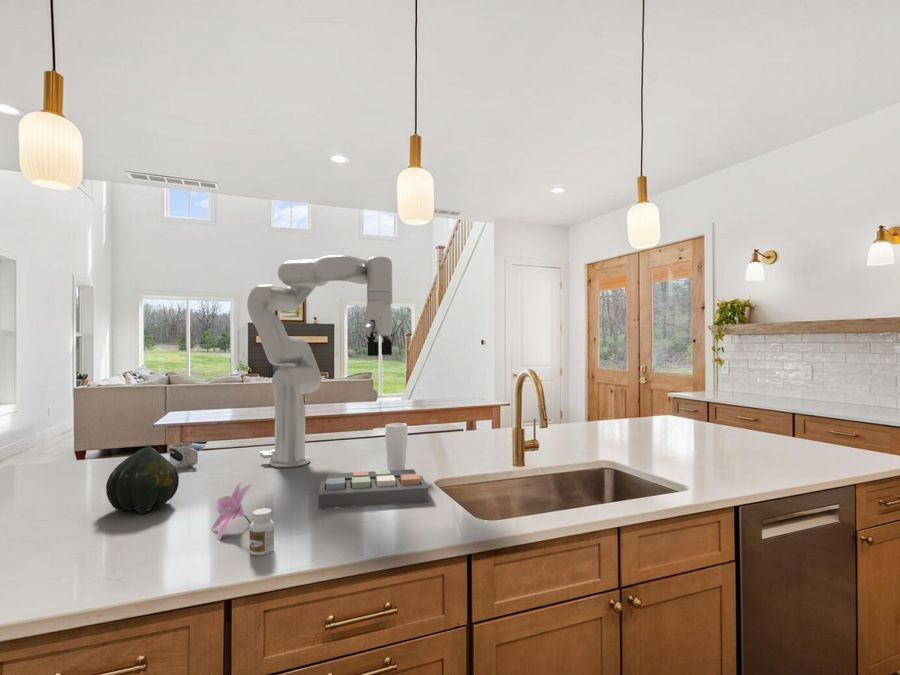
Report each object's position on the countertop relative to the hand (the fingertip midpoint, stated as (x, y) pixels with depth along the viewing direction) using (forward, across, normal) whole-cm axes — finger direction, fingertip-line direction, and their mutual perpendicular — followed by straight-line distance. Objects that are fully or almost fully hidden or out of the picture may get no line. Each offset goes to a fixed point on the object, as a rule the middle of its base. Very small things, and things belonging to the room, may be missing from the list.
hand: (380, 355), depth 143 cm
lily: (+36, +46, -14) cm, 60 cm away
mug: (+35, +9, -64) cm, 73 cm away
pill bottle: (+37, +53, -1) cm, 64 cm away
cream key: (+34, +16, +9) cm, 39 cm away
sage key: (+34, +19, +3) cm, 39 cm away
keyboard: (+36, +16, +5) cm, 40 cm away
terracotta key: (+34, +13, +15) cm, 39 cm away
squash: (+36, +42, -44) cm, 70 cm away
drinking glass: (+36, -4, +3) cm, 37 cm away
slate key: (+34, +23, -2) cm, 41 cm away
